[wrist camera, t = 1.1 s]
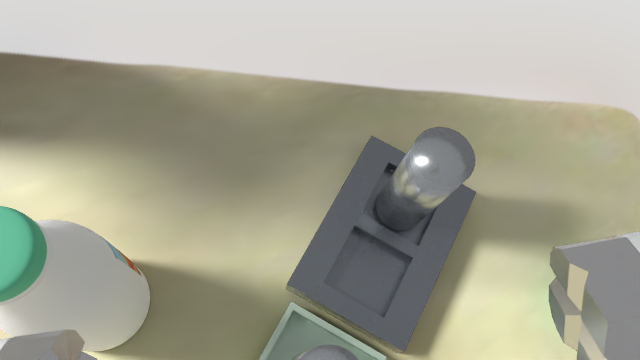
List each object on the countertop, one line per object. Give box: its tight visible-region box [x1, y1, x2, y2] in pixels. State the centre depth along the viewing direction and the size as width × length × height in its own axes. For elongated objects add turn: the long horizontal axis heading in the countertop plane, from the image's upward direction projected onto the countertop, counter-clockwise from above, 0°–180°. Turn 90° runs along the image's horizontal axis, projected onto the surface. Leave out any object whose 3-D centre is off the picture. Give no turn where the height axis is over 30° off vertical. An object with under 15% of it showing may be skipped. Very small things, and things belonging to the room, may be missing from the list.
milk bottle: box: [0, 206, 150, 351], centre depth 33 cm, size 8×8×20 cm
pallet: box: [286, 136, 476, 353], centre depth 46 cm, size 11×16×2 cm
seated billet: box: [376, 127, 475, 231], centre depth 41 cm, size 4×4×12 cm
